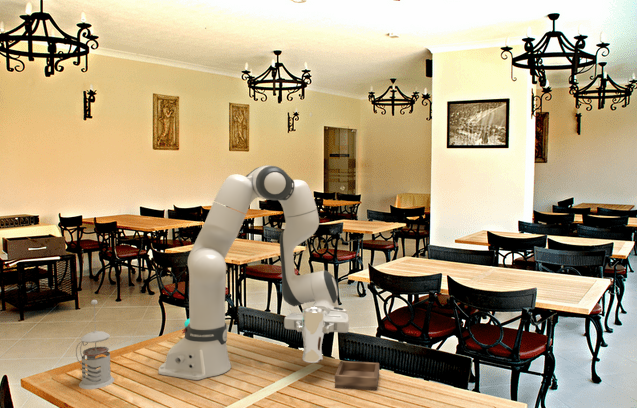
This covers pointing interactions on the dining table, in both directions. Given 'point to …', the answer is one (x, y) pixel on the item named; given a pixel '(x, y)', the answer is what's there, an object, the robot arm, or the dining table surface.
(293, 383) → the dining table surface
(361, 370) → the walnut tray
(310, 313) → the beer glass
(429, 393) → the dining table surface
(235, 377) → the dining table surface
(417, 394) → the dining table surface
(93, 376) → the french press
